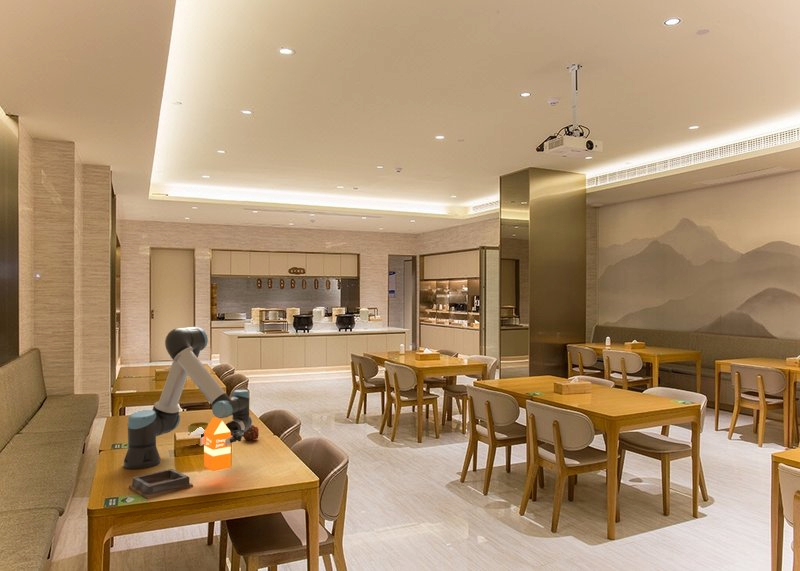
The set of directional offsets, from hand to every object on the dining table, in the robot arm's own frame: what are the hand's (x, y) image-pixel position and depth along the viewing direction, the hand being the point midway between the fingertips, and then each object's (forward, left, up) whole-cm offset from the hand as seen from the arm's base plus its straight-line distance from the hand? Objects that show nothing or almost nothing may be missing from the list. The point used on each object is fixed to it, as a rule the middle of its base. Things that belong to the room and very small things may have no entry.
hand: (213, 442), depth 231 cm
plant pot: (-34, +64, -17) cm, 75 cm away
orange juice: (0, +4, -11) cm, 12 cm away
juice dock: (-20, -4, -17) cm, 27 cm away
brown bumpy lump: (-9, +71, -17) cm, 74 cm away
